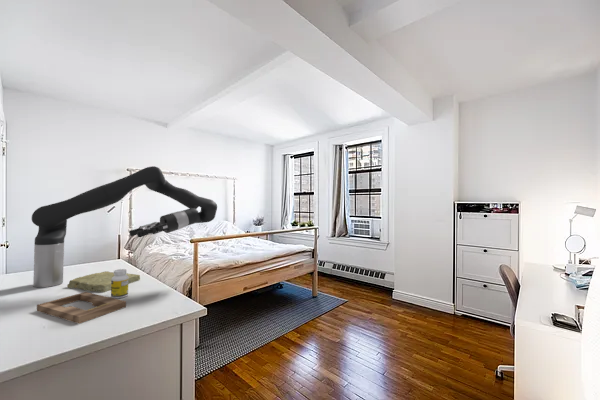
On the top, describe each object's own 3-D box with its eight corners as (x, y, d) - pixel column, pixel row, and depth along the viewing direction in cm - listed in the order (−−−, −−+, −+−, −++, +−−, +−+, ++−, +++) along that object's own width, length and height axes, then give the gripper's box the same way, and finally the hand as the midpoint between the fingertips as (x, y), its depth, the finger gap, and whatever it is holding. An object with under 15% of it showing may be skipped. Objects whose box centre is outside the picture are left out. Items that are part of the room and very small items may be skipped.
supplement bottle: (107, 297, 100) (108, 271, 101) (121, 293, 106) (122, 267, 106) (117, 299, 99) (118, 272, 99) (131, 295, 104) (132, 269, 104)
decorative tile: (104, 277, 128) (104, 270, 128) (140, 280, 124) (141, 273, 124) (62, 289, 110) (62, 280, 110) (103, 294, 106) (103, 284, 106)
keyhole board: (36, 311, 87) (37, 304, 87) (85, 297, 100) (85, 291, 100) (79, 323, 79) (79, 316, 79) (125, 307, 92) (126, 300, 92)
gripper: (165, 213, 120) (124, 224, 109) (179, 212, 111) (137, 225, 99) (169, 229, 122) (130, 242, 110) (184, 230, 112) (143, 244, 100)
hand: (133, 234), depth 104 cm, fingers open, 8 cm apart
